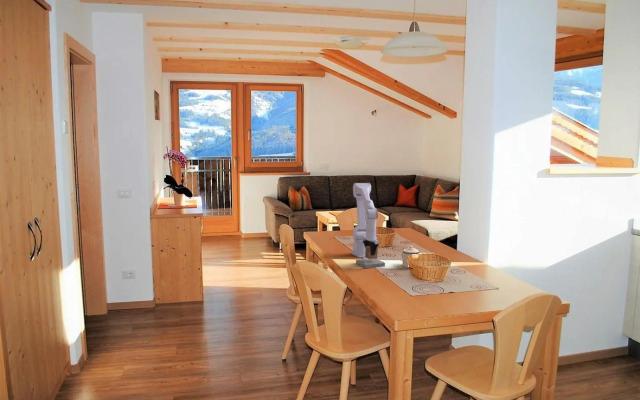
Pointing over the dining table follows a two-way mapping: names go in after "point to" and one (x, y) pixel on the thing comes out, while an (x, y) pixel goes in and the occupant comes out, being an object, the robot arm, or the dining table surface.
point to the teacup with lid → (406, 253)
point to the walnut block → (370, 253)
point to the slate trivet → (370, 263)
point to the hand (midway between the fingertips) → (370, 253)
